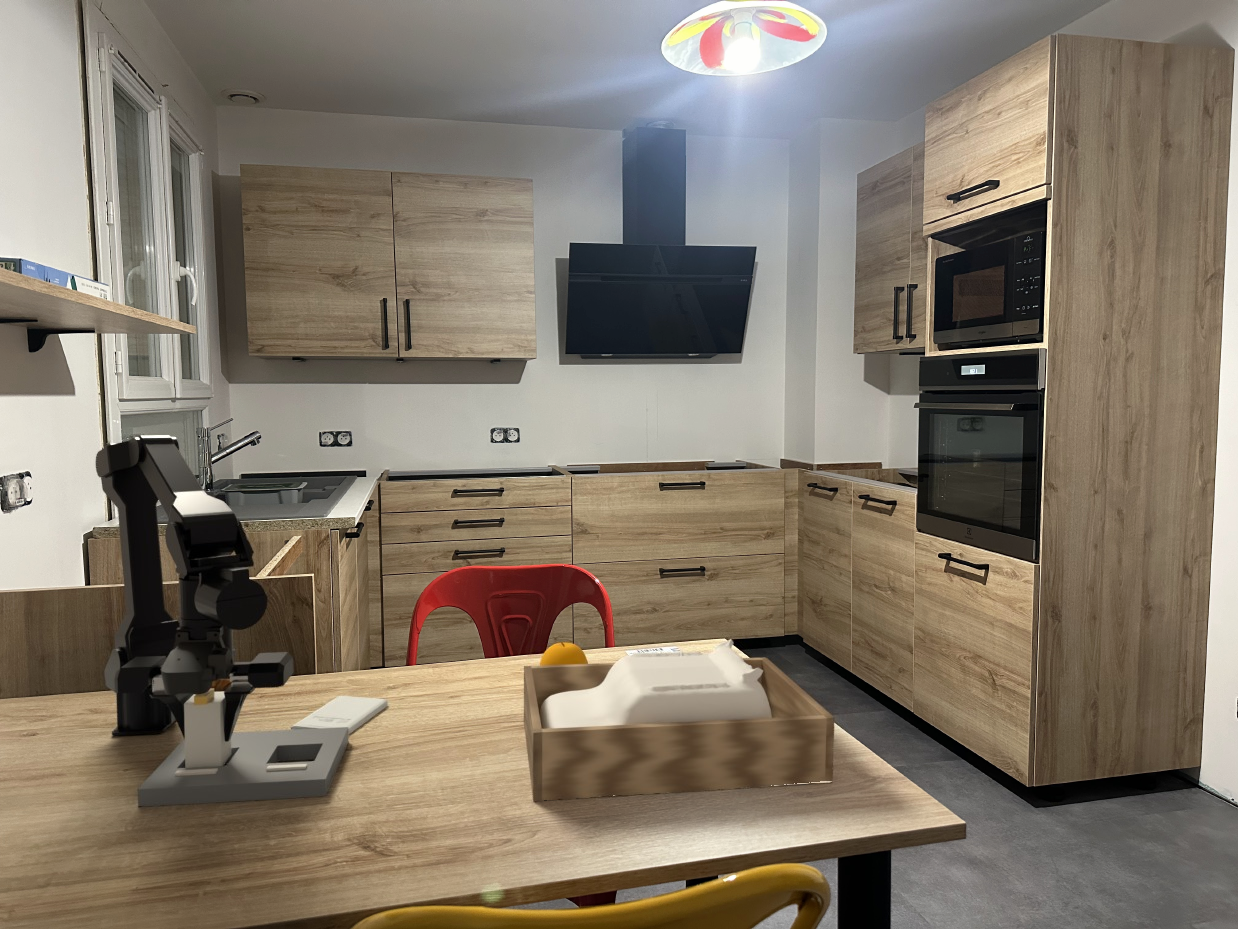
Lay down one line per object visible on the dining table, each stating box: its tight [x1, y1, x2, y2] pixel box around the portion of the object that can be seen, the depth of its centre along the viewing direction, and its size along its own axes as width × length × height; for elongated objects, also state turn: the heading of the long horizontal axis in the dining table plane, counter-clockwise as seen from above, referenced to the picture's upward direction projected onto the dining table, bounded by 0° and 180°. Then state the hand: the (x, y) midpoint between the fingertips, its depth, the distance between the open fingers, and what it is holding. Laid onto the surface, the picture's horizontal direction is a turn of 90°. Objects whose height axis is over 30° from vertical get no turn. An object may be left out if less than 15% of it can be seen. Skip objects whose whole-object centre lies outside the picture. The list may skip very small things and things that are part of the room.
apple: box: [539, 642, 589, 666], centre depth 134 cm, size 8×8×8 cm
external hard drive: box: [290, 695, 389, 736], centre depth 120 cm, size 2×8×12 cm
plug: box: [184, 688, 231, 768], centre depth 101 cm, size 4×5×9 cm
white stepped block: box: [539, 638, 772, 729], centre depth 108 cm, size 19×30×13 cm, turn 98°
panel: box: [137, 727, 349, 807], centre depth 102 cm, size 20×16×2 cm
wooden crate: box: [523, 657, 836, 802], centre depth 110 cm, size 36×25×8 cm
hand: (208, 741), depth 101 cm, fingers closed on plug, 4 cm apart
